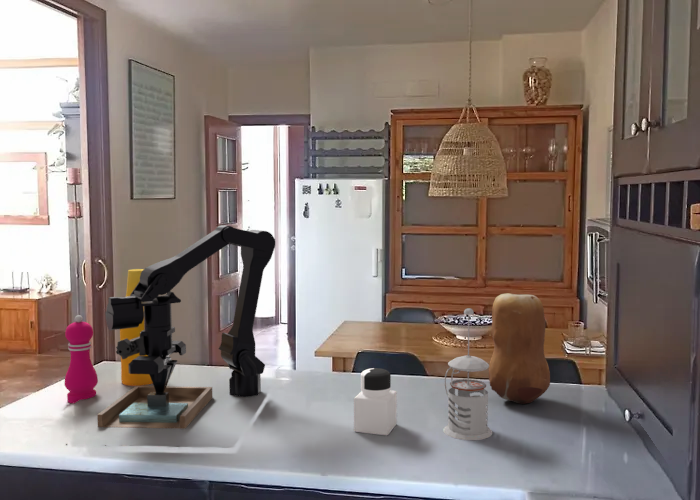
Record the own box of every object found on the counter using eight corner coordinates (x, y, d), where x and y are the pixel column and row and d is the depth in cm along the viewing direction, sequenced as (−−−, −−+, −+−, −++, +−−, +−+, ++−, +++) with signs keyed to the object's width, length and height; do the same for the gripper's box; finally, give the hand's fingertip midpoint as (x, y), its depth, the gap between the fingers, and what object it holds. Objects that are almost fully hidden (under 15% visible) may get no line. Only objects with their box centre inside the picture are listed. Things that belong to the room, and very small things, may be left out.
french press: (462, 443, 126) (464, 314, 124) (428, 425, 137) (428, 305, 135) (502, 434, 131) (504, 309, 129) (466, 417, 141) (467, 301, 139)
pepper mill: (86, 405, 150) (83, 318, 149) (58, 403, 152) (54, 317, 150) (104, 396, 158) (101, 312, 156) (77, 394, 159) (74, 311, 157)
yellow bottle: (167, 383, 167) (163, 269, 165) (134, 392, 161) (130, 273, 158) (147, 377, 174) (143, 267, 171) (114, 384, 167) (110, 270, 164)
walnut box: (212, 401, 153) (212, 386, 152) (185, 433, 133) (184, 416, 132) (136, 400, 154) (135, 385, 154) (97, 431, 134) (97, 414, 134)
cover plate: (188, 409, 144) (187, 391, 144) (176, 422, 136) (176, 403, 136) (133, 409, 145) (133, 391, 144) (119, 421, 137) (118, 403, 136)
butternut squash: (522, 389, 161) (524, 287, 159) (562, 405, 149) (564, 295, 147) (475, 397, 155) (476, 291, 153) (512, 414, 143) (514, 299, 141)
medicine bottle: (397, 424, 137) (397, 367, 136) (387, 436, 131) (387, 376, 130) (364, 420, 140) (364, 364, 139) (353, 432, 133) (353, 373, 132)
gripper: (138, 316, 153) (140, 382, 154) (102, 333, 134) (105, 408, 136) (186, 316, 152) (187, 383, 153) (156, 334, 133) (158, 409, 135)
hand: (160, 395), depth 144 cm, fingers closed
